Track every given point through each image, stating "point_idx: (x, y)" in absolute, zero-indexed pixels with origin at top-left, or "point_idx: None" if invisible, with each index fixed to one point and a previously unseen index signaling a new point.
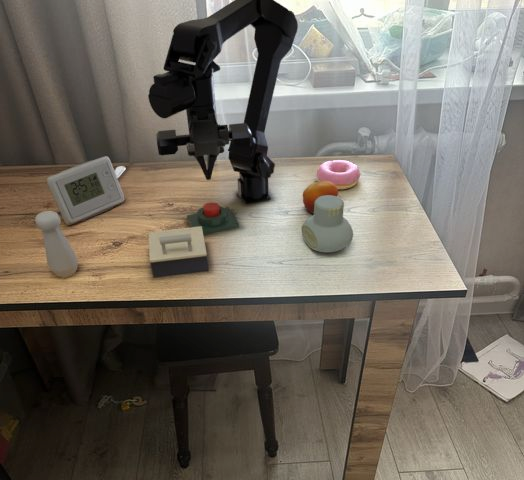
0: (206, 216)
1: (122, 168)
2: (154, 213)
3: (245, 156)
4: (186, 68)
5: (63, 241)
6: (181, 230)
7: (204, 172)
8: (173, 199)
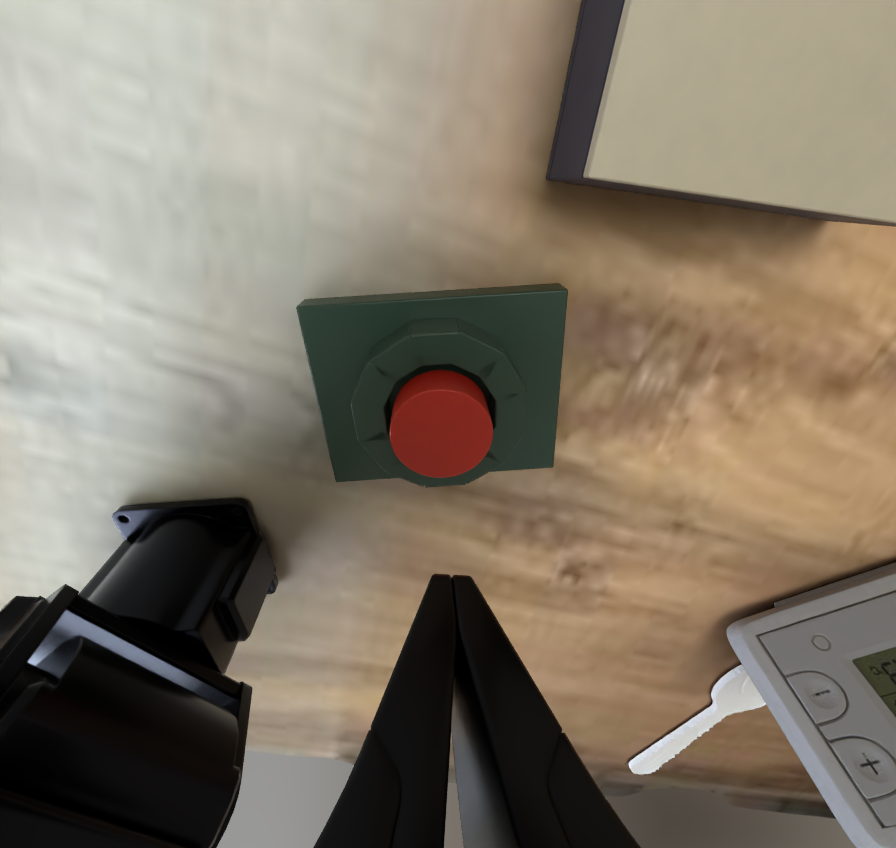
0: (484, 378)
1: (641, 765)
2: (656, 535)
3: (50, 794)
4: None
5: None
6: (757, 163)
7: (504, 650)
8: (548, 601)
